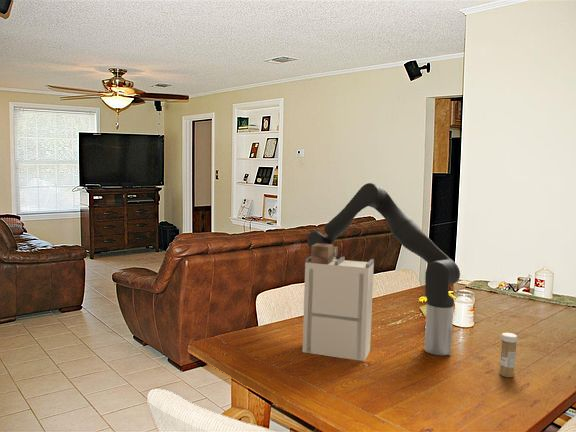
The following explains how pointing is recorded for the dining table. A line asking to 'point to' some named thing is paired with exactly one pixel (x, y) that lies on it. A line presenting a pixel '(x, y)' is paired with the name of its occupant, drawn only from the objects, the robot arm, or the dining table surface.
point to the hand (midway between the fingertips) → (336, 282)
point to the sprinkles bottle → (508, 354)
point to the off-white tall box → (338, 308)
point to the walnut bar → (323, 253)
